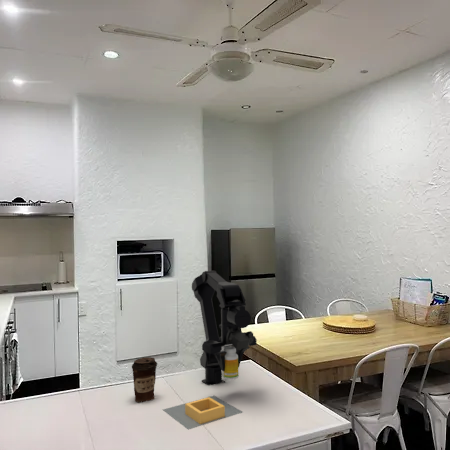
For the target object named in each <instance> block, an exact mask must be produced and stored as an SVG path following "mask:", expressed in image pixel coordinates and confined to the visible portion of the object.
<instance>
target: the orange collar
mask: <svg viewBox="0 0 450 450" xmlns="http://www.w3.org/2000/svg"><path fill="white" fill-rule="evenodd" d="M210 397H211V396H208V398H207V397H204V399H203V398H201V400H200V399H196V400H197V401H196V400H193V402H192V401H189V402H190V403H189V402H185V403H186V404H185V403H184V404H185V414H186V415H188V416H189V417H190V418H192V419H193V420H195V421H196V422H198V423H199V424H203V423H206V422H209V421H212V420H215V419H218V418H222V417H225V406H223V405H222V404H220V403H218V402H217V401H215V400H213V399H211V398H210ZM206 409H208V410H206ZM202 410H204V411H202Z"/></svg>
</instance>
